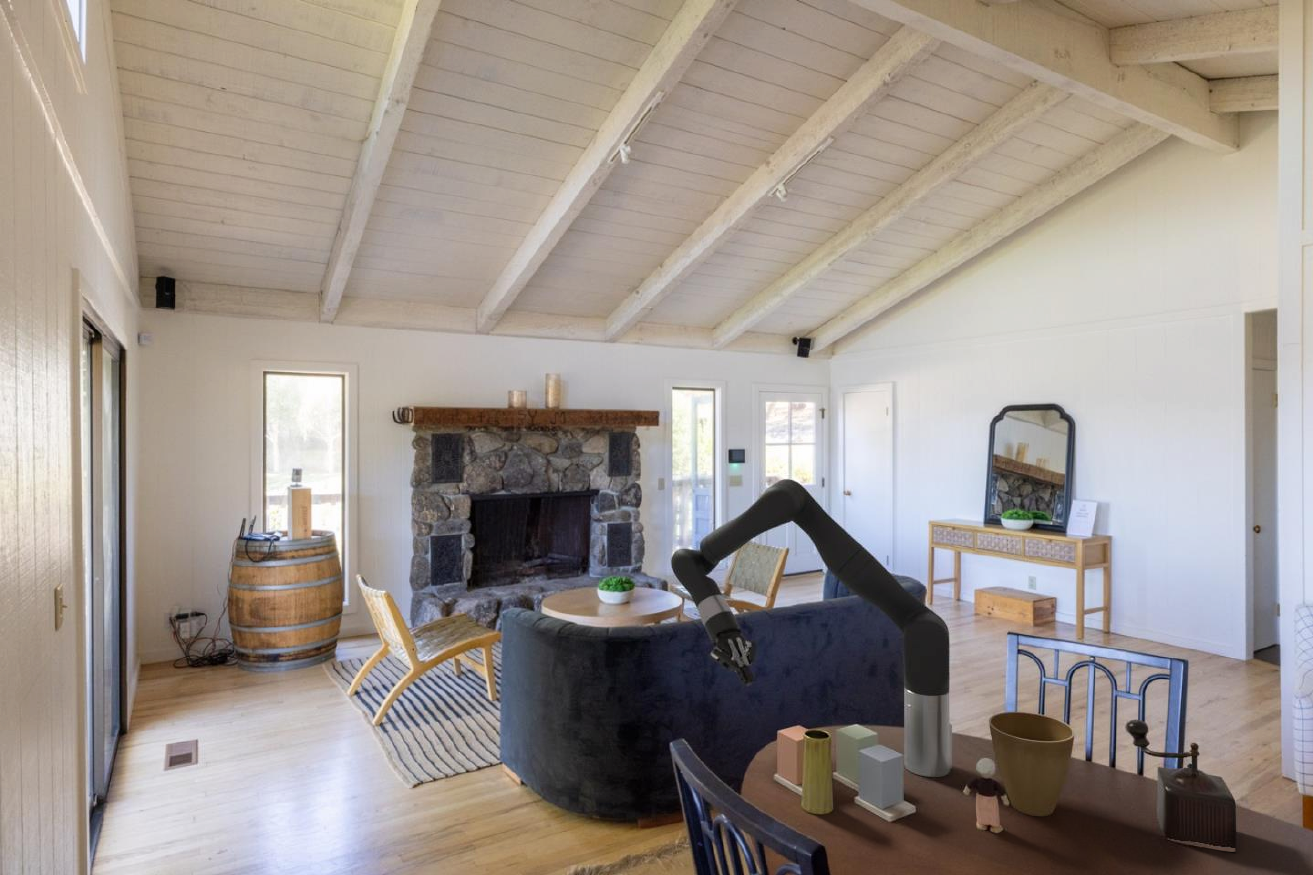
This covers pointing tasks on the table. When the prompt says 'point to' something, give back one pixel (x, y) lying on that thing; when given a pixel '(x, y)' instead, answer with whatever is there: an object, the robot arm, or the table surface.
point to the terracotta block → (791, 753)
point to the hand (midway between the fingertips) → (749, 683)
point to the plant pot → (1032, 758)
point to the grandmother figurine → (987, 796)
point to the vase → (817, 772)
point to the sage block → (852, 748)
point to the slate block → (880, 776)
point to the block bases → (859, 799)
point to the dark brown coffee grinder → (1190, 798)
